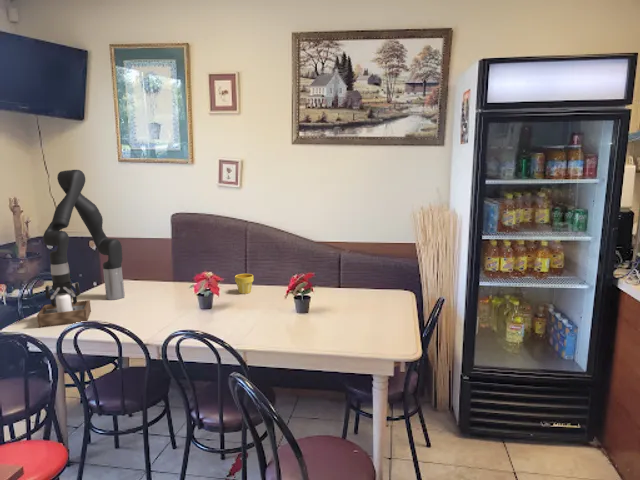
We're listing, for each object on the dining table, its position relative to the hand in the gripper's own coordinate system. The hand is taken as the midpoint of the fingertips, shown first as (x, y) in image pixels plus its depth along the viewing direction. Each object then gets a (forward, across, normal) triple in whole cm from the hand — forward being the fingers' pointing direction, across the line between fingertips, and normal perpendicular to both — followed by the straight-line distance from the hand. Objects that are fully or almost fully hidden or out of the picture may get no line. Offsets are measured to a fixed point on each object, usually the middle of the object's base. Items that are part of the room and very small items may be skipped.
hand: (64, 305), depth 216 cm
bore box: (+7, 0, 0) cm, 7 cm away
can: (+6, 0, 0) cm, 6 cm away
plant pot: (+8, -89, -10) cm, 90 cm away
